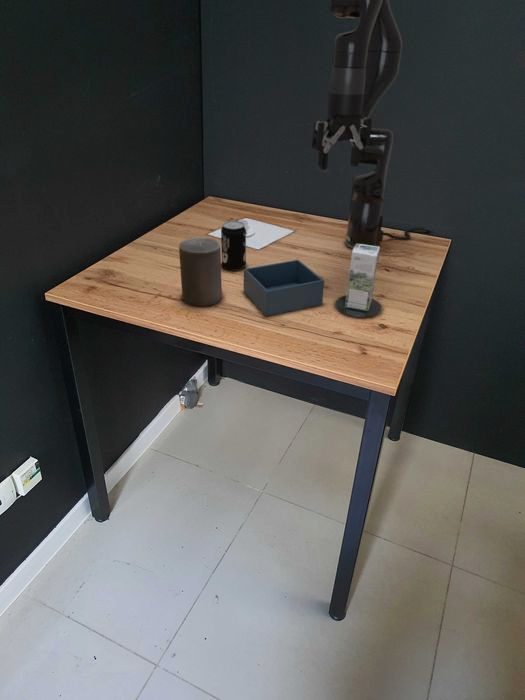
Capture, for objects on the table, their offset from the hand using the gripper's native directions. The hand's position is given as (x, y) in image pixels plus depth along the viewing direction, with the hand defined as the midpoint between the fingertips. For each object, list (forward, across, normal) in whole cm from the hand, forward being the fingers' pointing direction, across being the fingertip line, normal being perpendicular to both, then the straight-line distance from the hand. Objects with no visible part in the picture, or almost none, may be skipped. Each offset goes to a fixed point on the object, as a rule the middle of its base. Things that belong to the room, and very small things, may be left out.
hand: (338, 167), depth 117 cm
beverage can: (+29, -20, +17) cm, 39 cm away
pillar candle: (+29, -34, +3) cm, 45 cm away
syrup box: (+28, -2, -16) cm, 33 cm away
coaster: (+29, -2, -16) cm, 33 cm away
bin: (+29, -16, -5) cm, 33 cm away
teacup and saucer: (+30, -5, +39) cm, 49 cm away
